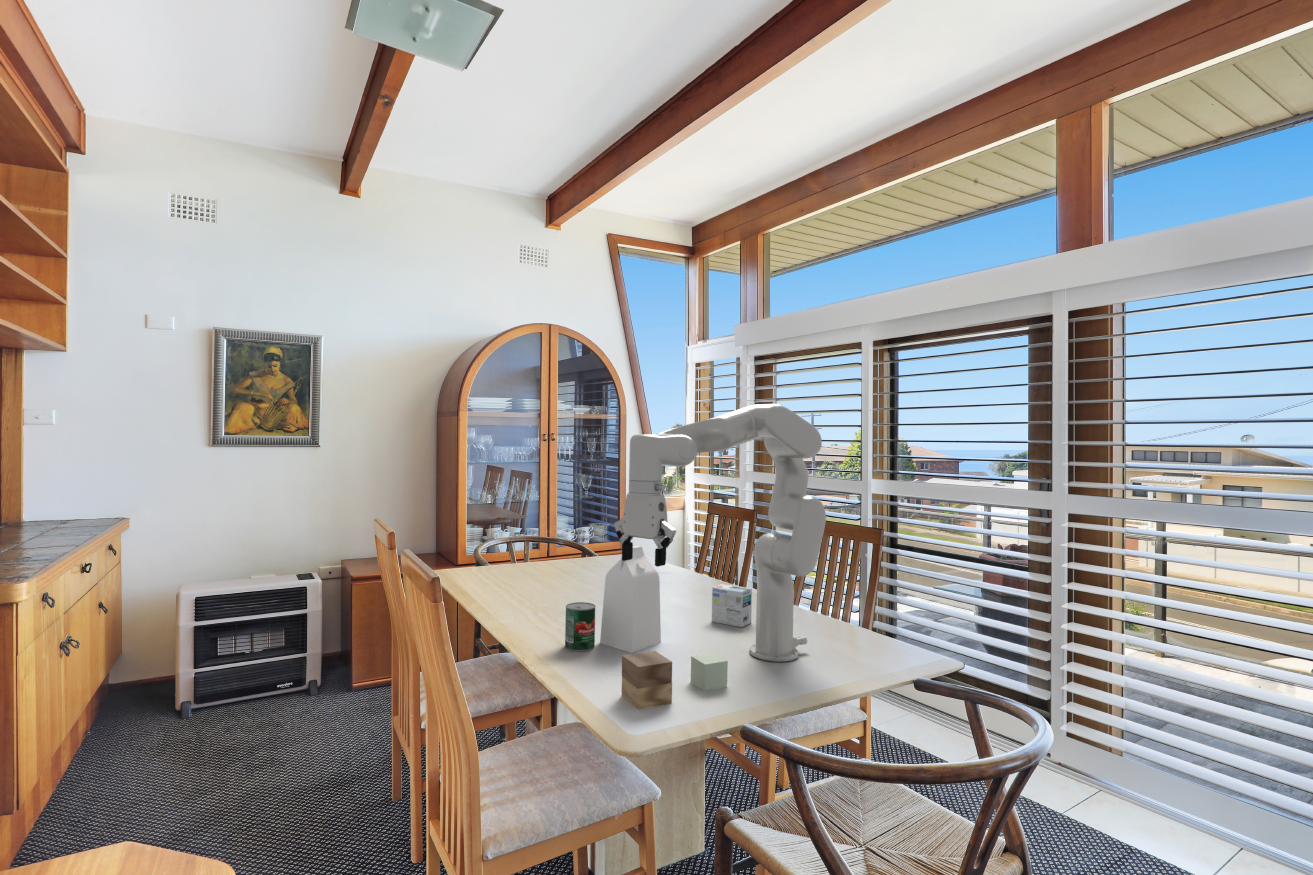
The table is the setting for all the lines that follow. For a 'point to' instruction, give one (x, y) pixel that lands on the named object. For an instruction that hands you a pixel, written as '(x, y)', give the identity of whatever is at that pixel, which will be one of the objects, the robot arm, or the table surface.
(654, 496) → the robot arm
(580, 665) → the table surface
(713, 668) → the sage cube
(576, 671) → the table surface
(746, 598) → the light bulb box
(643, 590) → the milk
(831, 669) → the table surface
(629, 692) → the oak slab
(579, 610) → the canned tomato
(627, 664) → the walnut slab
